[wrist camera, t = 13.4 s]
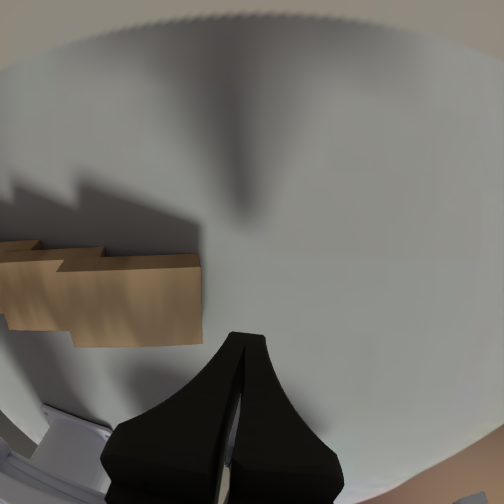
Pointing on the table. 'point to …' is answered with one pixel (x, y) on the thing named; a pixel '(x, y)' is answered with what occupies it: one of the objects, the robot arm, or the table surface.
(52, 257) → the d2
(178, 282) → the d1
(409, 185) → the table surface
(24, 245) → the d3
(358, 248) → the table surface
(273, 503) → the robot arm
